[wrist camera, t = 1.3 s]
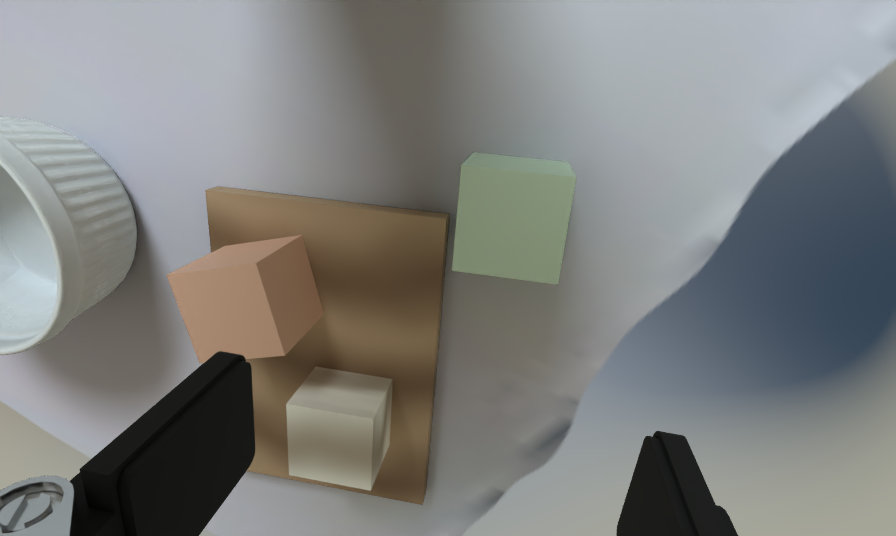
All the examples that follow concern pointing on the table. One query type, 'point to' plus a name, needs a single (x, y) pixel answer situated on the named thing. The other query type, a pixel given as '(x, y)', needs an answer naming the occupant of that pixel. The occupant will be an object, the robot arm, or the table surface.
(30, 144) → the ramekin
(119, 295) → the table surface
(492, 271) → the green block
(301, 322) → the terracotta block
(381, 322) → the build board
